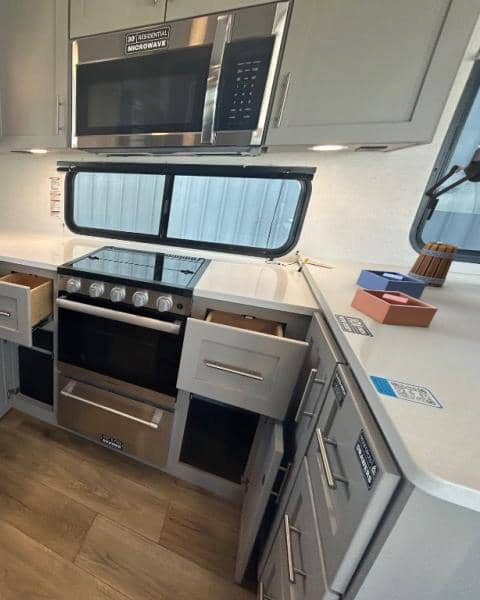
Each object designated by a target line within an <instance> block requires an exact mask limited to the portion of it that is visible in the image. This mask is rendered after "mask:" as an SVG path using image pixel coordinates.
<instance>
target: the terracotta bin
mask: <svg viewBox="0 0 480 600" xmlns="http://www.w3.org/2000/svg"><path fill="white" fill-rule="evenodd" d="M384 294H389V295H394V296H398V297H402V298H406V299H408V300H407V302H406V304H405V305H392V304H389V303H387V302H385V301H383V300H381V299H382V297H383V296H384ZM350 306H351V307H353V308H354V309H356V310H358V311H359V312H361V313H363V314H364V315H366V316H368V317H370V318H371V319H373V320H375V321H377V322H378V323H380V324H383V325H384V324H385V325H393V326H394V325H395V326H406V327H407V326H408V327H421V328H429V326H430V325H431V323H432V321H433V319H434V317H435V315H436V313H437V312H438V310H439V308H438V307H436V306H433V305H430V304H428V303H426V302H425V301H421V300H420V299H415V298H412V297H410V296H408V295H405V294H403V293H401V292H394V291H381V290H368V289H366V288H357V289H356V292H355V294H354V296H353V298H352V301H351V304H350Z"/></svg>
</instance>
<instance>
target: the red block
mask: <svg viewBox="0 0 480 600" xmlns="http://www.w3.org/2000/svg"><path fill="white" fill-rule="evenodd" d="M381 300H383V301H385V302H387V303H389V304H392V305H405V304H406V302H407V300H408V299H406V298H402V297H398V296H394V295H389V294H384V296H383V297H382V299H381Z"/></svg>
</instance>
